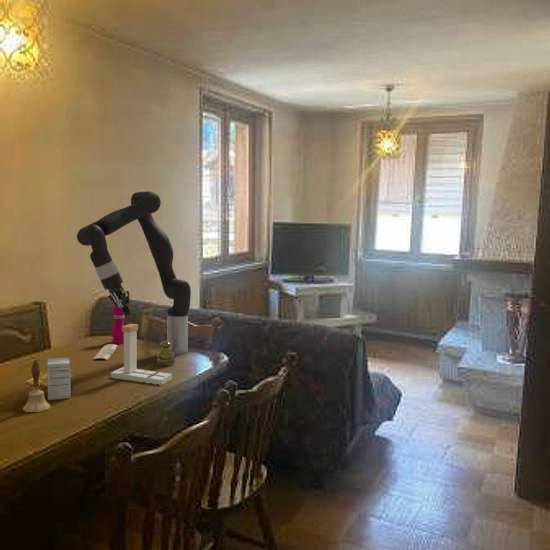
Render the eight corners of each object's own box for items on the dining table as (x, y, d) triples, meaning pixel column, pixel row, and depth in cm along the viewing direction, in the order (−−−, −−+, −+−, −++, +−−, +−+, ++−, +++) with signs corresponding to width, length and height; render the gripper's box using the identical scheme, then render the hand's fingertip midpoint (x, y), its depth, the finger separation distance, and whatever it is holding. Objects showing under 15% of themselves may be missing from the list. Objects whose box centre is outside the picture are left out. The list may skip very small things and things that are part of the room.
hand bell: (18, 407, 181) (17, 359, 179) (44, 401, 187) (43, 355, 185) (28, 415, 175) (27, 365, 174) (54, 408, 181) (53, 361, 179)
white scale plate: (122, 372, 222) (122, 366, 222) (172, 379, 215) (172, 373, 215) (111, 377, 214) (110, 372, 214) (161, 385, 208) (161, 379, 207)
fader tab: (130, 368, 219) (130, 323, 217) (138, 369, 218) (138, 324, 216) (122, 372, 214) (122, 326, 212) (130, 373, 213) (130, 327, 211)
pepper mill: (129, 341, 271) (129, 300, 268) (123, 344, 264) (123, 303, 261) (114, 340, 272) (114, 299, 269) (108, 343, 264) (108, 302, 262)
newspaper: (104, 347, 260) (104, 344, 260) (120, 347, 261) (119, 344, 261) (92, 361, 237) (92, 357, 237) (109, 362, 238) (109, 357, 237)
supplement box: (47, 393, 195) (47, 358, 194) (70, 391, 198) (69, 356, 196) (47, 400, 189) (46, 364, 187) (70, 398, 191) (70, 362, 190)
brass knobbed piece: (176, 362, 238) (177, 339, 237) (171, 367, 231) (172, 343, 230) (160, 361, 239) (160, 338, 238) (154, 366, 232) (154, 342, 230)
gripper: (125, 268, 212) (144, 309, 216) (108, 272, 221) (126, 311, 225) (109, 277, 207) (129, 318, 211) (92, 280, 216) (111, 320, 220)
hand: (127, 314), depth 218 cm, fingers closed
